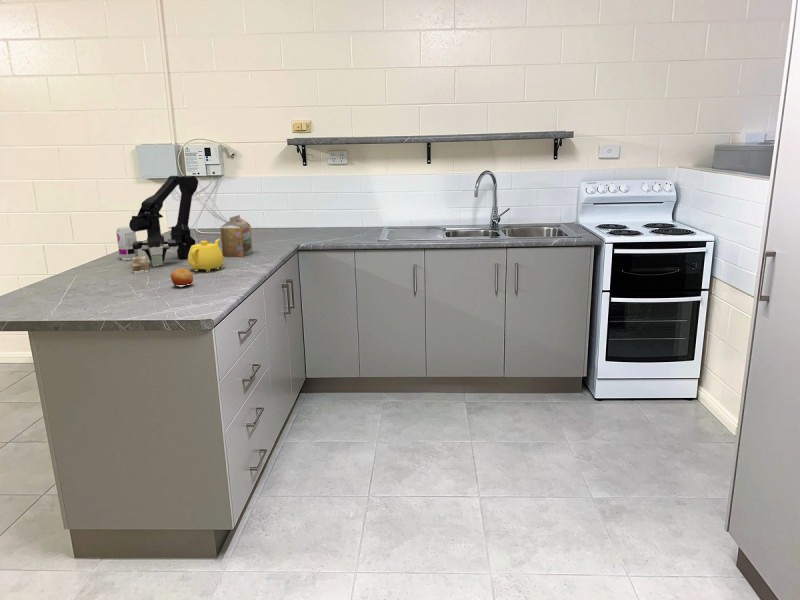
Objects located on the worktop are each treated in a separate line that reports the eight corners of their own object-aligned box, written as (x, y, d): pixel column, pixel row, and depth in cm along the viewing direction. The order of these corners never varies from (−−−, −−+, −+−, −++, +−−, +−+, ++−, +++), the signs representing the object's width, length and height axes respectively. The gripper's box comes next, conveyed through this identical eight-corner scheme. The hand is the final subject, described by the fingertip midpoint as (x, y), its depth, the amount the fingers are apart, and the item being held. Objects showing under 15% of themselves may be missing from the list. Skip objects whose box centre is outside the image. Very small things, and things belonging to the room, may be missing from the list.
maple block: (146, 263, 267) (145, 256, 266) (145, 265, 262) (144, 258, 261) (134, 263, 265) (133, 257, 264) (133, 266, 261) (132, 259, 260)
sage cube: (163, 263, 281) (162, 254, 280) (162, 265, 277) (161, 255, 276) (153, 264, 280) (151, 254, 279) (152, 266, 276) (151, 256, 274)
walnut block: (149, 270, 268) (148, 262, 268) (148, 273, 263) (147, 265, 262) (134, 271, 267) (133, 263, 266) (133, 274, 261) (132, 266, 260)
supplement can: (118, 261, 288) (114, 229, 284) (121, 258, 296) (117, 227, 292) (137, 260, 290) (133, 228, 286) (139, 257, 298) (135, 226, 294)
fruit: (183, 278, 244) (187, 263, 239) (193, 291, 241) (198, 275, 236) (164, 282, 238) (168, 266, 233) (175, 295, 235) (179, 279, 230)
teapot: (180, 273, 261) (177, 243, 258) (209, 263, 279) (206, 236, 276) (207, 274, 257) (204, 244, 253) (235, 265, 275) (232, 237, 272)
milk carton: (243, 257, 293) (239, 217, 288) (222, 256, 295) (219, 217, 290) (252, 253, 303) (249, 214, 298) (232, 252, 305) (229, 214, 300)
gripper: (129, 232, 264) (133, 267, 268) (174, 229, 269) (178, 264, 273) (131, 228, 274) (136, 263, 278) (175, 226, 279) (179, 260, 284)
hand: (157, 262), depth 278 cm, fingers closed on sage cube, 4 cm apart
